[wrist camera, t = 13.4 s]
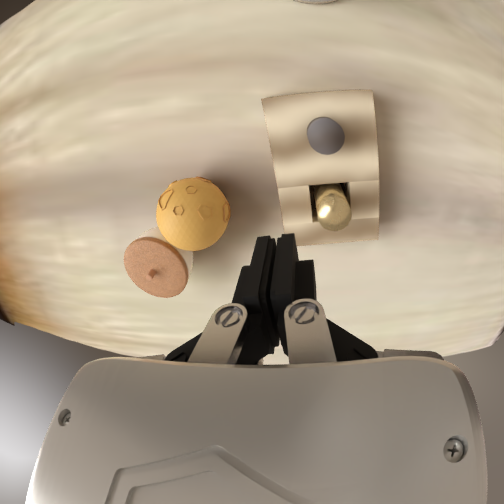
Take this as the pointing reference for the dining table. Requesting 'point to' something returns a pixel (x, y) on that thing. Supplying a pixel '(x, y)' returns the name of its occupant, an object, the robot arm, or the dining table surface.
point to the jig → (325, 160)
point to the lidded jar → (158, 264)
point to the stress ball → (192, 214)
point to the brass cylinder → (332, 206)
